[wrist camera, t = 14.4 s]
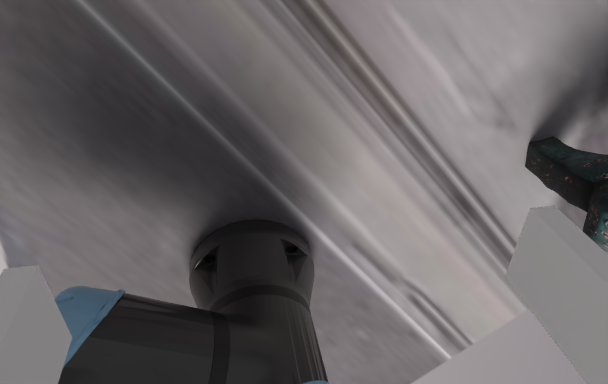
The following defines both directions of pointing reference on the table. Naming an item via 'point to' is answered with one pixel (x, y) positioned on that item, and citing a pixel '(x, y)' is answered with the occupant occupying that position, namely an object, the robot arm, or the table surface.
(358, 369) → the table surface
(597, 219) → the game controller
